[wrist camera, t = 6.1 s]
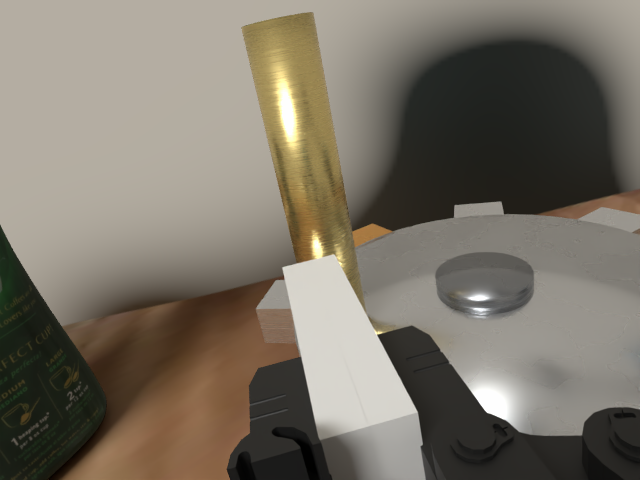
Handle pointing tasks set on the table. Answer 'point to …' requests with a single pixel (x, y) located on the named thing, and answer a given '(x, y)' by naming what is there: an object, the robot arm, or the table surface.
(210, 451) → the table surface
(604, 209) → the sprocket
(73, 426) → the coffee jar
